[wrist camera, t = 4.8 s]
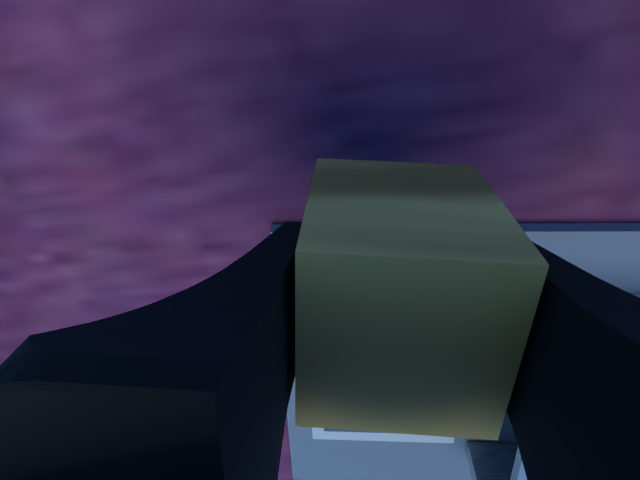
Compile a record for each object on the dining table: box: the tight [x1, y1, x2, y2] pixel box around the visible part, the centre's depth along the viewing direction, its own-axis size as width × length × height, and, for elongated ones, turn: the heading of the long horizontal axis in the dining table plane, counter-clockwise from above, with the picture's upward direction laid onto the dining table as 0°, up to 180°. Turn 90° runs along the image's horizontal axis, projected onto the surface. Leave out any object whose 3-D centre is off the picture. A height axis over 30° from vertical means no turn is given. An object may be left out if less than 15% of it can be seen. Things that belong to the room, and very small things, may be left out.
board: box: [270, 223, 640, 480], centre depth 22 cm, size 16×17×2 cm
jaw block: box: [295, 158, 549, 441], centre depth 10 cm, size 4×4×5 cm
